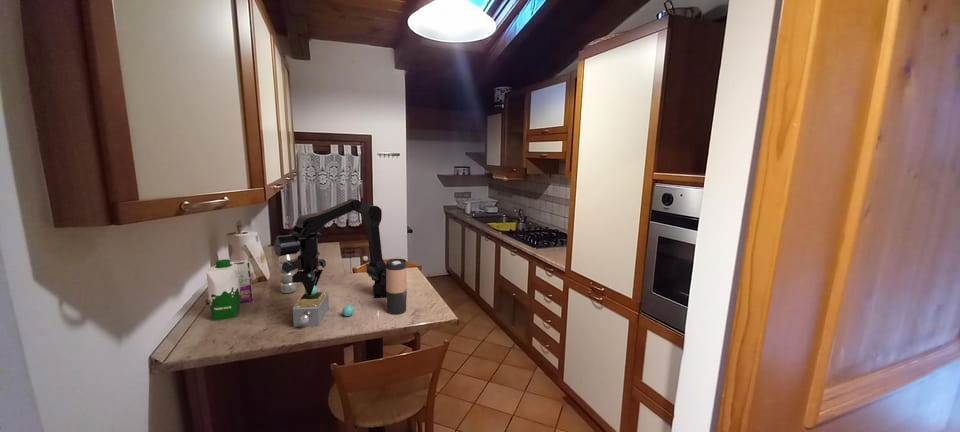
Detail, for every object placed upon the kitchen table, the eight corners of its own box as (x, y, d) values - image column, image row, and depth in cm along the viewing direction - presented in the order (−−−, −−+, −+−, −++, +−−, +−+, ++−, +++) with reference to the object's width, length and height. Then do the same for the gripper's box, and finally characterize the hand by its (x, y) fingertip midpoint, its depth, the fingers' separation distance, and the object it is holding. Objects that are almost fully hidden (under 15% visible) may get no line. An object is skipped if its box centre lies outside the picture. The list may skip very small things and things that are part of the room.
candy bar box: (252, 296, 140) (249, 258, 138) (252, 300, 136) (249, 261, 134) (219, 301, 134) (215, 262, 132) (217, 306, 130) (213, 265, 128)
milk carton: (243, 308, 129) (238, 258, 126) (239, 318, 121) (234, 264, 118) (214, 312, 125) (209, 260, 122) (208, 322, 117) (202, 267, 114)
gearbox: (328, 308, 131) (328, 288, 129) (316, 329, 115) (315, 305, 113) (306, 310, 129) (305, 289, 128) (291, 330, 113) (289, 307, 112)
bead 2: (354, 313, 128) (354, 303, 127) (353, 317, 124) (352, 307, 123) (343, 313, 127) (343, 303, 126) (341, 318, 123) (341, 308, 122)
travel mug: (400, 305, 136) (399, 257, 133) (410, 311, 131) (410, 261, 128) (383, 310, 131) (382, 260, 128) (393, 317, 125) (392, 265, 122)
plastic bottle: (301, 289, 149) (298, 245, 146) (291, 295, 142) (288, 249, 139) (287, 288, 150) (284, 245, 147) (276, 294, 143) (273, 248, 140)
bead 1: (318, 293, 124) (318, 282, 124) (315, 297, 120) (315, 286, 120) (307, 293, 123) (306, 283, 123) (303, 297, 119) (303, 287, 119)
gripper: (293, 245, 127) (296, 284, 129) (273, 258, 109) (276, 304, 111) (325, 244, 129) (327, 283, 131) (310, 258, 111) (312, 302, 113)
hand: (311, 292), depth 122 cm, fingers closed on bead 1, 4 cm apart
